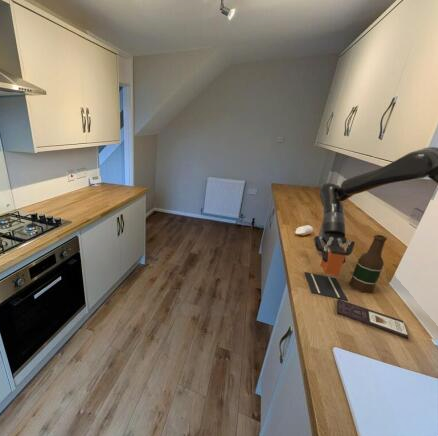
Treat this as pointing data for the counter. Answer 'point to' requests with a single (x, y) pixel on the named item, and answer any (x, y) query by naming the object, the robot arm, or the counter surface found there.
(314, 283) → the mat
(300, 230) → the roll
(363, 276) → the beer bottle
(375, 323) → the chocolate bar
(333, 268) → the box
